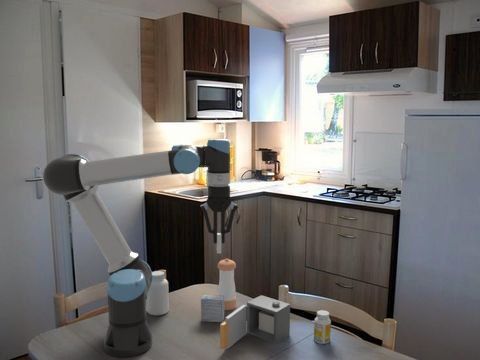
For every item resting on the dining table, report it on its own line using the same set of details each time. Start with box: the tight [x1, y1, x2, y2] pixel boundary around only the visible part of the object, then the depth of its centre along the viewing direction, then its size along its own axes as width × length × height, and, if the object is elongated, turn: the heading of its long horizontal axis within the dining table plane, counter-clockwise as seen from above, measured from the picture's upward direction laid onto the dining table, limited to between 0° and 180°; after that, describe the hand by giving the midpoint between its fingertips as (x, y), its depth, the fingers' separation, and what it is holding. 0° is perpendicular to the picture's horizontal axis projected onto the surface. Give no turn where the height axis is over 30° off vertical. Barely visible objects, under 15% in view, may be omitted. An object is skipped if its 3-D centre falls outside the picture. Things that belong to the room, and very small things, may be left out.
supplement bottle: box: [313, 309, 332, 345], centre depth 155 cm, size 5×5×10 cm
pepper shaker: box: [217, 257, 237, 311], centre depth 181 cm, size 7×7×19 cm
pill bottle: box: [146, 270, 170, 316], centre depth 176 cm, size 8×8×15 cm
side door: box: [219, 304, 247, 350], centre depth 152 cm, size 15×1×10 cm, turn 150°
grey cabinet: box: [246, 295, 291, 345], centre depth 160 cm, size 14×8×12 cm, turn 52°
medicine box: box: [200, 294, 225, 323], centre depth 170 cm, size 8×4×9 cm, turn 84°
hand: (219, 252), depth 163 cm, fingers closed
